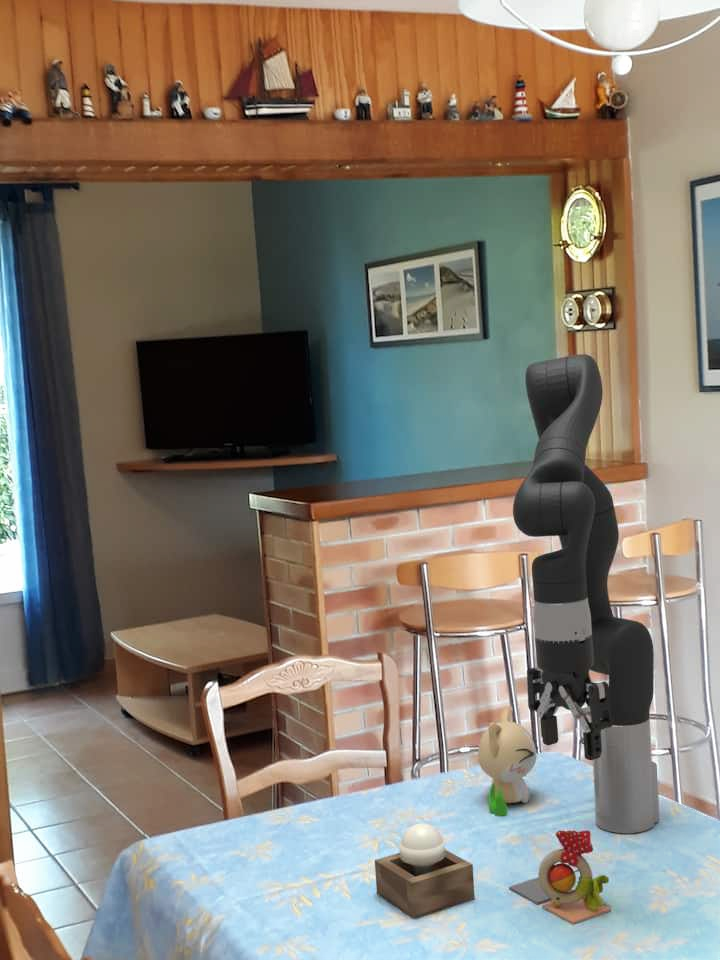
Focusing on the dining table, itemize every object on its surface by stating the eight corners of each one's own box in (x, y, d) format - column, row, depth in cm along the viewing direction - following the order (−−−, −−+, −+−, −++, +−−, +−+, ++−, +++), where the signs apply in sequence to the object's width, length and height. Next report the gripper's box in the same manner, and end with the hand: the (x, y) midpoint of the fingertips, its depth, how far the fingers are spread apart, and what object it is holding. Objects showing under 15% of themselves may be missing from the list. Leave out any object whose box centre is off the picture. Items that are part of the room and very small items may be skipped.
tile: (579, 894, 166) (579, 892, 166) (610, 910, 160) (610, 908, 160) (542, 907, 163) (541, 905, 163) (572, 924, 157) (572, 922, 157)
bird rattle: (559, 931, 159) (621, 905, 158) (521, 857, 159) (583, 830, 158) (558, 911, 165) (618, 885, 164) (522, 840, 165) (581, 813, 164)
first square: (545, 877, 172) (545, 875, 172) (574, 892, 167) (574, 890, 167) (508, 888, 169) (508, 886, 169) (537, 904, 164) (537, 902, 164)
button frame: (435, 876, 175) (433, 842, 175) (474, 899, 167) (472, 864, 166) (376, 894, 170) (374, 860, 170) (414, 918, 162) (411, 883, 161)
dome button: (430, 862, 173) (427, 813, 172) (455, 876, 167) (452, 825, 167) (392, 873, 170) (389, 823, 169) (416, 888, 164) (413, 836, 163)
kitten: (528, 819, 195) (523, 729, 194) (469, 815, 199) (464, 727, 198) (547, 788, 209) (542, 704, 208) (492, 785, 213) (487, 702, 212)
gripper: (507, 629, 162) (516, 745, 164) (577, 645, 150) (585, 770, 151) (550, 619, 166) (558, 733, 168) (621, 634, 154) (629, 757, 155)
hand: (571, 751), depth 160 cm, fingers open, 8 cm apart
